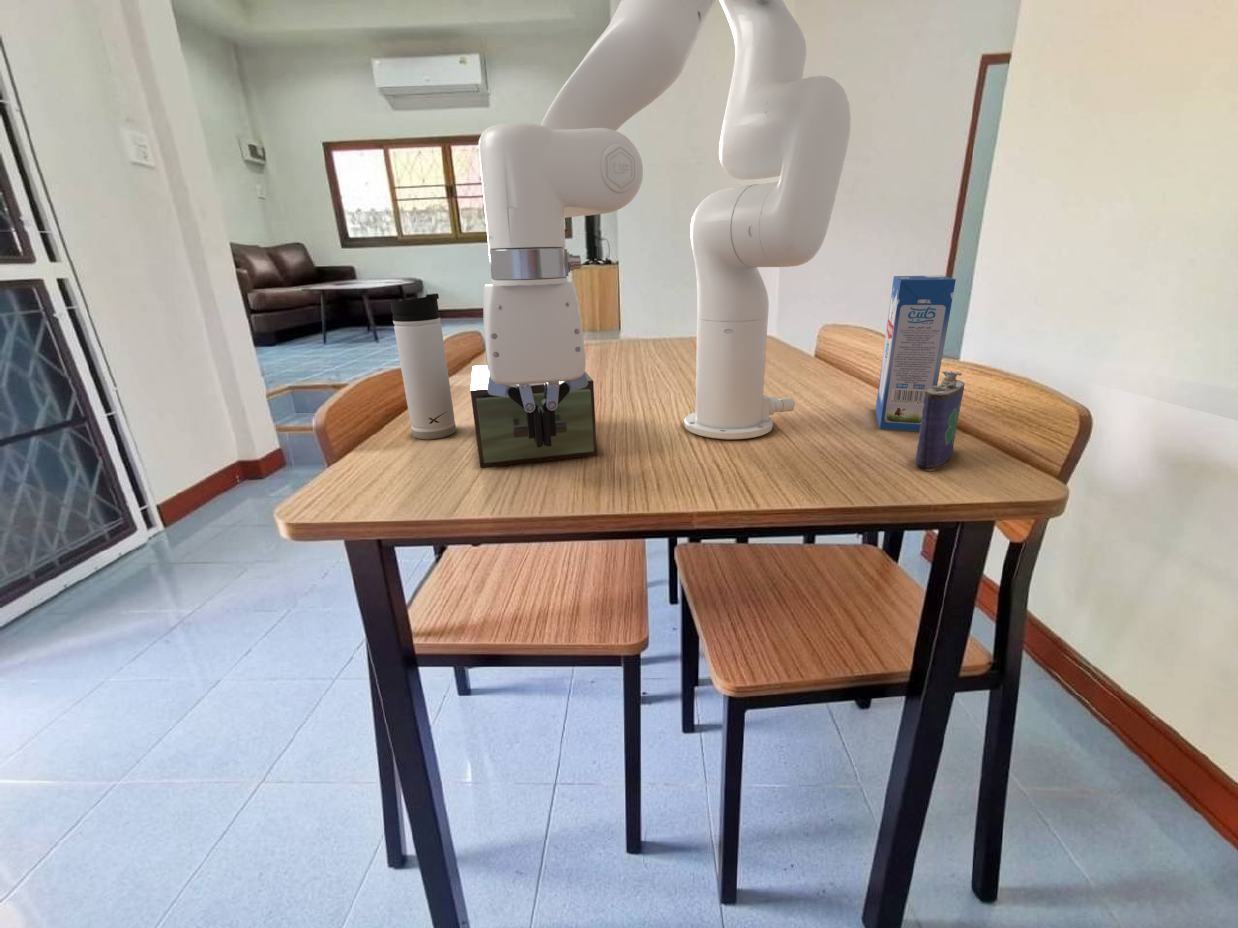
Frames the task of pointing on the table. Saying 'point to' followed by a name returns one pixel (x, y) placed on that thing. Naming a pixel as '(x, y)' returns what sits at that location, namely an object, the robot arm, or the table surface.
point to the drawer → (510, 436)
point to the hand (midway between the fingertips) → (542, 443)
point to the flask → (939, 423)
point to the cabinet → (480, 390)
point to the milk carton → (912, 348)
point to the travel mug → (424, 366)
